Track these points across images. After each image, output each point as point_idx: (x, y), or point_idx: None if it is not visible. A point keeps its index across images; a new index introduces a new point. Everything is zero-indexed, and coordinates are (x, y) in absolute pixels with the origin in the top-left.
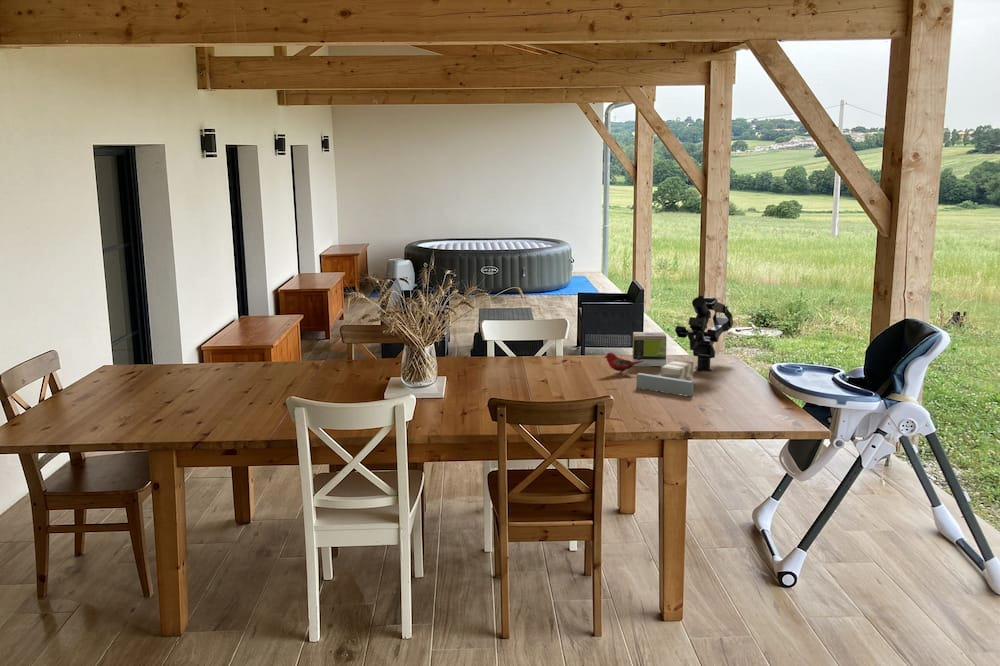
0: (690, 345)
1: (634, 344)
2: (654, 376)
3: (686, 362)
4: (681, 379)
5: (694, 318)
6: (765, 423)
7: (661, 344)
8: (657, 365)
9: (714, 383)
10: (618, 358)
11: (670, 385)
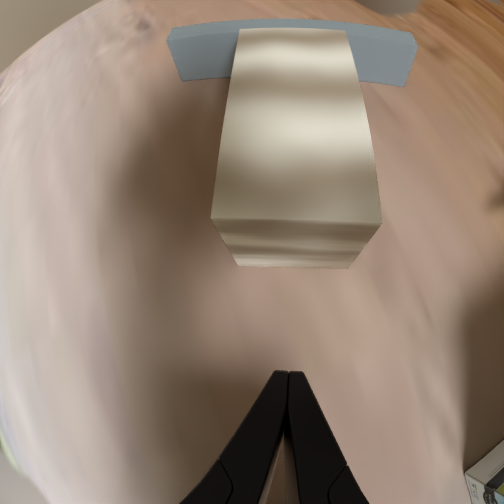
0: (310, 407)
1: None
2: (338, 24)
3: (261, 174)
4: (218, 33)
5: None
6: (38, 53)
7: None
8: (499, 446)
9: (126, 294)
10: None
11: None
